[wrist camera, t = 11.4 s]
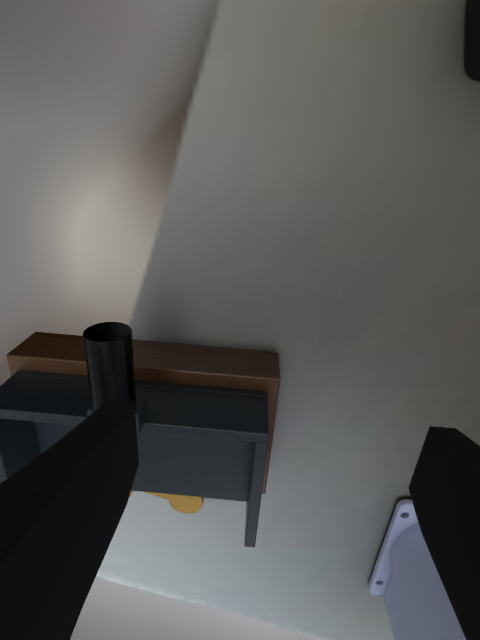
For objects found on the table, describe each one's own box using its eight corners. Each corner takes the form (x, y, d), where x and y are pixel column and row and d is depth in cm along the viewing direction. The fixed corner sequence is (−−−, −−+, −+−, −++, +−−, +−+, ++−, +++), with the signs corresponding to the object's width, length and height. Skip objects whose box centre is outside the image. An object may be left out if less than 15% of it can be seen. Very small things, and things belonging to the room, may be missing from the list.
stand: (265, 459, 22) (265, 494, 20) (56, 440, 23) (33, 472, 20) (278, 352, 19) (280, 379, 17) (35, 331, 20) (5, 354, 17)
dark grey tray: (255, 496, 20) (254, 575, 16) (41, 476, 20) (-9, 548, 17) (278, 308, 16) (282, 358, 12) (0, 285, 16) (-82, 326, 12)
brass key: (196, 518, 24) (198, 510, 25) (206, 495, 23) (208, 488, 24) (113, 492, 24) (117, 484, 24) (120, 467, 23) (124, 460, 23)
